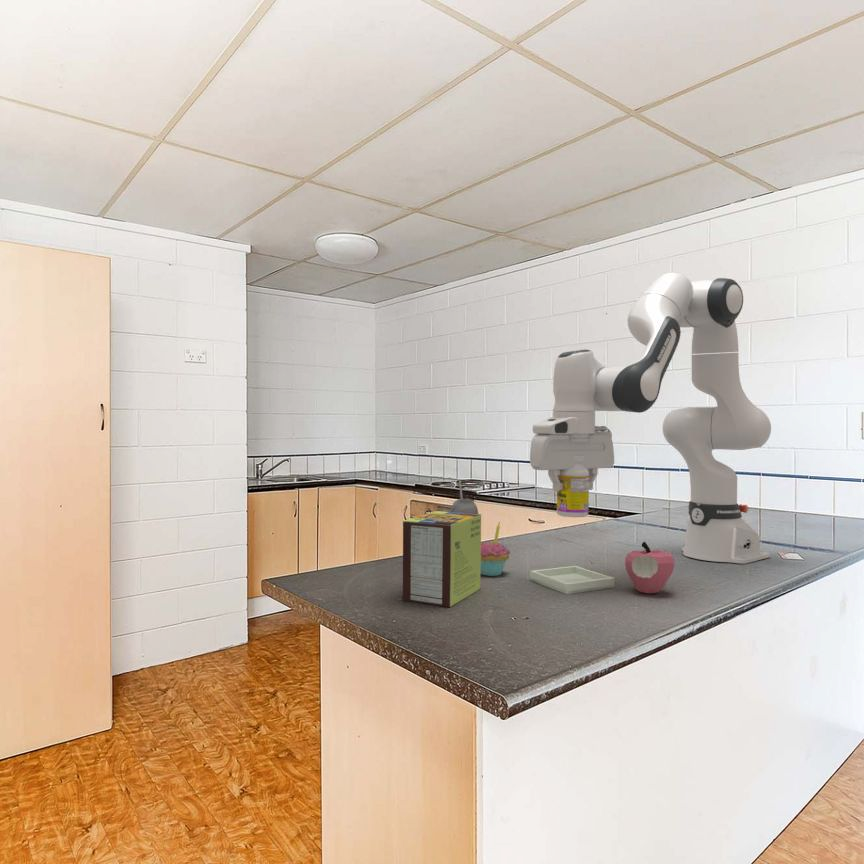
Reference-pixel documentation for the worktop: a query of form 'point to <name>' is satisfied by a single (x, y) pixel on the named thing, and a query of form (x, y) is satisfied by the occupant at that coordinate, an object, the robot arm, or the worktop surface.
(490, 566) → the cupcake
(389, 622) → the worktop surface
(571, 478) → the supplement bottle
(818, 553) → the worktop surface
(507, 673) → the worktop surface
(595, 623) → the worktop surface
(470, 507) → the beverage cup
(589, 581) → the tray
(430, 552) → the protein box
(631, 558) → the apple
